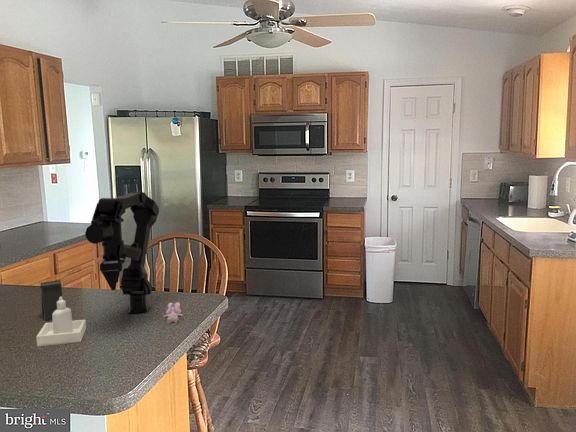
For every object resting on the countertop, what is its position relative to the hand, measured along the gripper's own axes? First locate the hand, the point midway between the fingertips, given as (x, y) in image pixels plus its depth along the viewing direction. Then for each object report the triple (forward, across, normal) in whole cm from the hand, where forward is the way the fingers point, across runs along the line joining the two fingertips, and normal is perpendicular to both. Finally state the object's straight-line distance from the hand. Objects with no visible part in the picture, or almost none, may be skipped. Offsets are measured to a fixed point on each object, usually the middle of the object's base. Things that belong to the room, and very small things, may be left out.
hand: (114, 286), depth 154 cm
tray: (+13, -6, +15) cm, 21 cm away
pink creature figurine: (+13, +3, -18) cm, 23 cm away
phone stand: (+13, +16, +22) cm, 30 cm away
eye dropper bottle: (+13, -6, +15) cm, 20 cm away
